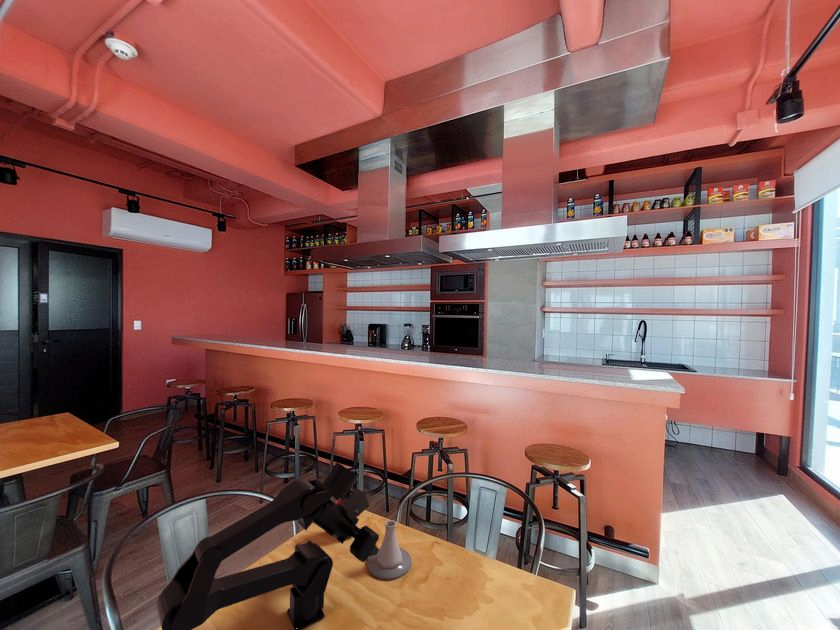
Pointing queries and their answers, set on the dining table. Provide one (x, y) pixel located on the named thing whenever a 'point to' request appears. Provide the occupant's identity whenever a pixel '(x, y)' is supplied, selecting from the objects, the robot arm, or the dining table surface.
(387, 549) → the flask
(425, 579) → the dining table surface
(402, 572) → the slate coaster
